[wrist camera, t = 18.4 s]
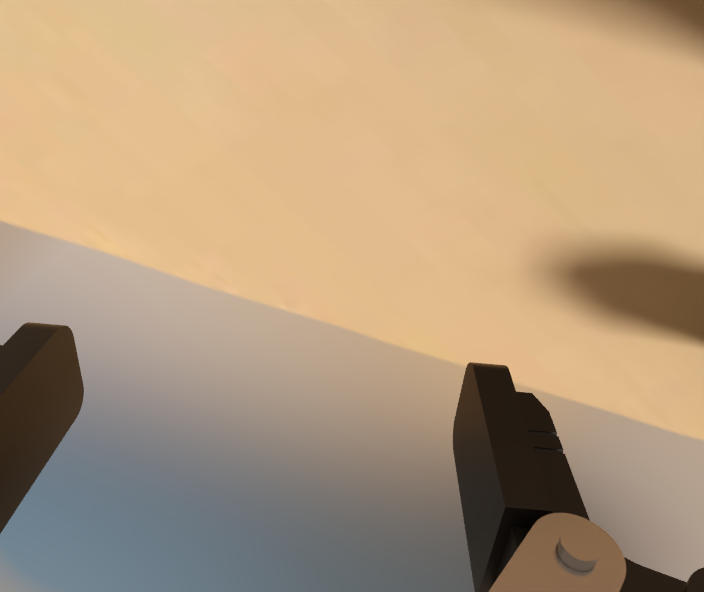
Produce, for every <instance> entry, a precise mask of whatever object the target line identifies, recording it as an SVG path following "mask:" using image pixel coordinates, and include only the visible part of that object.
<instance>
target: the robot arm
mask: <svg viewBox="0 0 704 592" xmlns="http://www.w3.org/2000/svg"><path fill="white" fill-rule="evenodd" d="M83 390H84V388H83V382H82V377H81V372H80V367H79V362H78V357H77V352H76V346H75V342H74V337H73V333H72V331H71V329H70V328H69V327H68V326H62V325H51V324H40V323H26V324H24V325H23V326H21V327H20V328H19V330H17V332H16V333H15V334H14V335H13V336H12V337H11V338H10V339H9V340H8V341H7V342H6V343H5V344H4V345H3V346H2V345H0V533H1V532H2V530H3V529H4V527H5V525H6V524H7V523H8V521H9V519H10V518H11V516H12V515H13V513H14V512H15V510H16V509H17V507H18V506H19V504H20V503H21V501H22V499H23V498H24V497H25V495H26V494H27V492H28V491H29V489H30V487H31V486H32V485H33V483H34V482H35V480H36V478H37V477H38V475H39V474H40V472H41V470H42V469H43V468H44V466H45V465H46V463H47V462H48V460H49V458H50V457H51V456H52V454H53V453H54V451H55V449H56V448H57V447H58V445H59V443H60V442H61V440H62V439H63V437H64V436H65V434H66V432H67V431H68V430H69V428H70V426H71V425H72V424H73V422H74V421H75V419H76V418H77V415H78V414H79V412H80V409H81V405H82V401H83V394H84V393H83V392H84V391H83ZM556 434H557V432H556V429H555V426H554V424H553V421H552V419H551V416H550V413H549V411H547V409H546V408H545V407H544V406H543V405H542V404H541V403H540V402H539V400H538V399H537V398H536V397H535V396H534V395H533V394H532V393H524V392H516V391H515V388H514V384H513V381H512V378H511V375H510V372H509V369H508V367H507V366H504V365H493V364H482V363H469V364H468V365H467V368H466V372H465V375H464V380H463V384H462V389H461V393H460V398H459V402H458V407H457V411H456V416H455V420H454V428H453V451H454V458H455V464H456V471H457V477H458V484H459V491H460V497H461V504H462V511H463V517H464V524H465V530H466V537H467V543H468V550H469V557H470V563H471V570H472V577H473V583H474V590H475V592H704V568H701V569H698V570H697V571H695V572H694V573H693V574H692V575H691V577H690V578H689V580H688V582H684V581H681V580H678V579H676V578H673V577H670V576H668V575H665V574H662V573H660V572H657V571H654V570H651V569H649V568H646V567H643V566H641V565H638V564H636V563H634V562H632V561H630V560H628V559H627V558H625V557H624V556H623V553H622V551H621V550H620V548H619V546H618V545H617V543H616V542H615V541H614V539H613V538H612V537H611V536H610V535H609V534H608V533H607V532H606V531H604V530H603V529H602V528H601V527H599V526H597V525H596V524H595V523H593V522H591V521H590V520H589V517H588V515H587V512H586V509H585V507H584V504H583V501H582V499H581V496H580V493H579V491H578V488H577V485H576V483H575V480H574V477H573V475H572V472H571V469H570V467H569V464H568V461H567V459H566V456H565V454H563V448H562V445H561V443H560V440H559V437H557V435H556Z"/></svg>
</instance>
